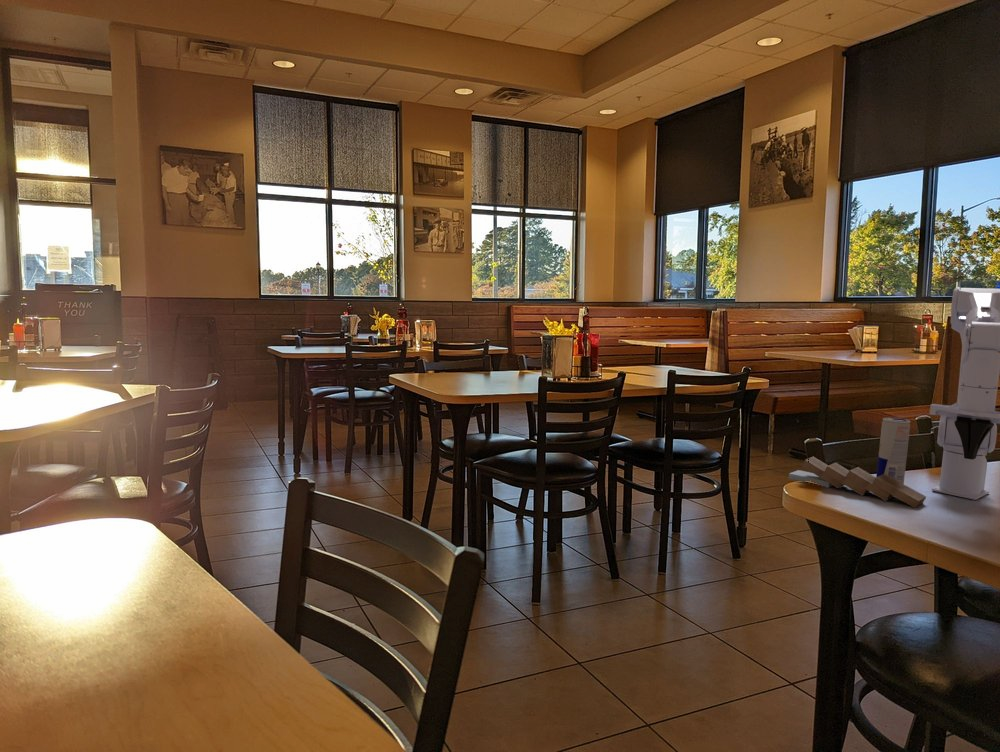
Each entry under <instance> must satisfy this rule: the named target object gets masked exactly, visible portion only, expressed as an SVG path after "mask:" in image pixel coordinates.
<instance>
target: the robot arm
mask: <svg viewBox="0 0 1000 752" xmlns="http://www.w3.org/2000/svg"><path fill="white" fill-rule="evenodd" d="M950 308H951V309H950V321H949V322H950V325H951V326H950V327H951V329H952V330H954V331H956V332H957V333H959V336H960V339H961V340H960V341H961V353H960V355H961V356H960V366H959V378H958V389H957V399H956V402H955V403H953V404H951V405H949V404H948V405H946V404H938V403H937V404H936V403H933V404H930V407H929V415H930V416H931V415H932V416H940V417H939V423H938V431H937V441H936V443H937V445H938V446H939V447H942V448H943V452H942V461H941V462H942V463H941V467H940V468H941V470H940V479H939V485H937V486H934V487H932V488H931V491H933V492H936V493H942V494H947V495H951V496H954V497H955V496H956V497H960V498H965V499H970V500H973V501H974V500H975V501H976V500H978V499H980V498H981V497H984V496H986V495H987V494H989V493H990V490H989V489H988V490H987V489H985V485H986V475H987V471H988V460H987V458H986V456H988V455H987V454H988V453H992V452H993V451H994V450H995V449H996V443H997V436H998V435H997V434H998V426H997V425H998V424H999V425H1000V411H997V410H996V403H997V395H998V388H999V387H998V386H999V378H1000V288H985V287H983V288H982V287H980V288H979V287H978V288H977V287H960V286H956V287H955V288H954V289H953V292H952V298H951V307H950Z"/></svg>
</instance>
